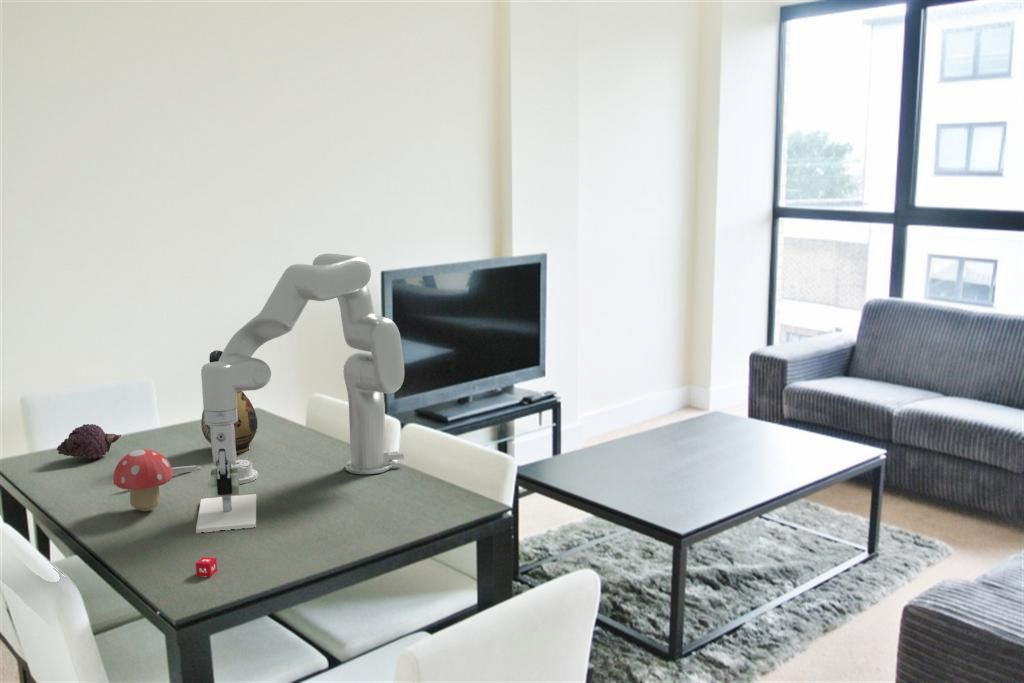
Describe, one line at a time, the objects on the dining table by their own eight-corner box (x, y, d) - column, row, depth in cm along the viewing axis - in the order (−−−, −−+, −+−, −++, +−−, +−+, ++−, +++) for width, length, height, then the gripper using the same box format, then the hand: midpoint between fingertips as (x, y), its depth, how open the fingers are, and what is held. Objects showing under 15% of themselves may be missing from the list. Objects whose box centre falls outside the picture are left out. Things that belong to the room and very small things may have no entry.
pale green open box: (239, 486, 229) (237, 466, 228) (238, 495, 224) (237, 474, 223) (212, 488, 228) (211, 468, 227) (211, 497, 222) (210, 476, 221)
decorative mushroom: (105, 512, 229) (99, 452, 226) (157, 497, 239) (152, 439, 236) (134, 525, 221) (129, 463, 218) (186, 509, 231) (182, 449, 228)
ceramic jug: (217, 441, 285) (210, 342, 280) (267, 443, 283) (261, 343, 278) (191, 459, 269) (183, 354, 263) (243, 461, 267) (236, 355, 261)
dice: (196, 576, 194) (195, 563, 193) (203, 570, 196) (202, 556, 196) (210, 577, 193) (209, 563, 193) (217, 571, 196) (216, 557, 195)
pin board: (256, 497, 238) (255, 476, 237) (256, 527, 219) (254, 504, 218) (201, 502, 235) (199, 481, 234) (196, 533, 216) (194, 510, 215)
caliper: (135, 491, 244) (133, 467, 243) (133, 490, 245) (131, 466, 244) (202, 469, 261) (200, 447, 260) (199, 469, 261) (197, 446, 260)
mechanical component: (211, 484, 249) (247, 486, 247) (210, 468, 248) (246, 470, 246) (229, 472, 258) (264, 474, 256) (228, 456, 257) (263, 458, 256)
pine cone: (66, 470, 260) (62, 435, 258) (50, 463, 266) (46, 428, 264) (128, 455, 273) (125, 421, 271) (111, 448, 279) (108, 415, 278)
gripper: (236, 423, 215) (241, 500, 218) (238, 405, 231) (242, 476, 235) (201, 426, 213) (206, 503, 216) (206, 407, 230) (210, 479, 233)
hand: (225, 488), depth 226 cm, fingers closed on pale green open box, 6 cm apart
